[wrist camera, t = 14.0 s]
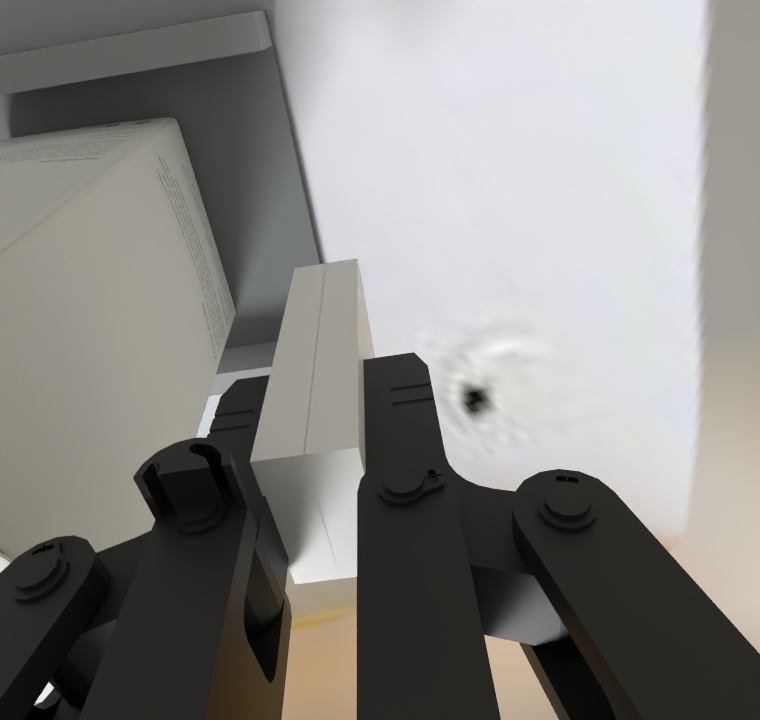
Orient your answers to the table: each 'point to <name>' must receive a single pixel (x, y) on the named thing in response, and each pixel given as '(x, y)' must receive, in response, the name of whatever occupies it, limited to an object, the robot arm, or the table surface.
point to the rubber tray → (194, 147)
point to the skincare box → (100, 326)
